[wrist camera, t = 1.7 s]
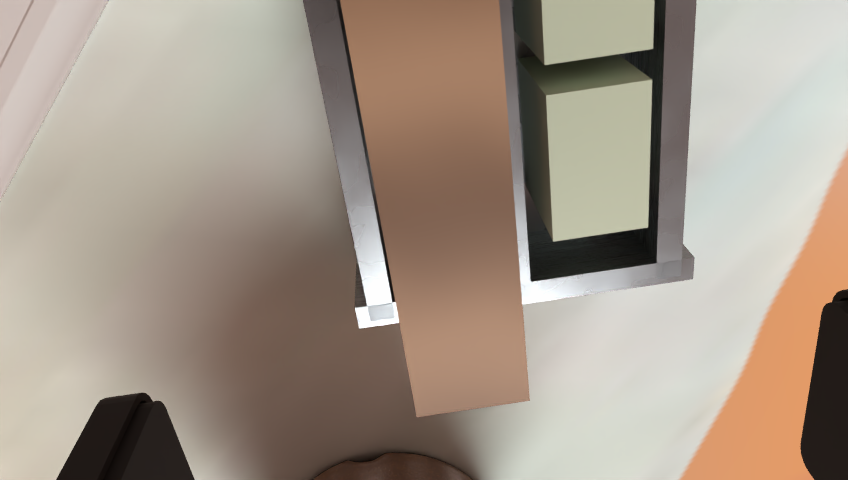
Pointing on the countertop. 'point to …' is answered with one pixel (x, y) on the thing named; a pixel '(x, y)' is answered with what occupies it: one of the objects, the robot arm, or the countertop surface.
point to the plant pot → (394, 469)
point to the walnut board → (444, 193)
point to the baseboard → (36, 67)
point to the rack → (538, 255)
